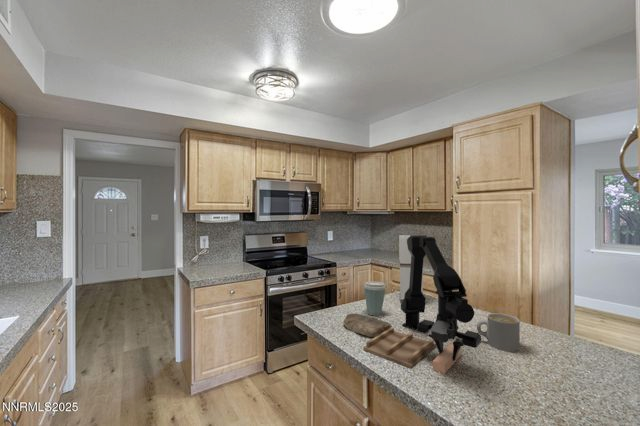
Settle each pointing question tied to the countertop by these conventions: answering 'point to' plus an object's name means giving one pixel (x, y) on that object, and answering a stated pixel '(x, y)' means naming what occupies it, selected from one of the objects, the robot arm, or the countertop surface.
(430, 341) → the rack rail
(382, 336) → the rack rail
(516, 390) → the countertop surface
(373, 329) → the brown rock
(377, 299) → the disposable coffee cup
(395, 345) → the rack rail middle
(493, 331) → the coffee mug
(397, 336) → the rack
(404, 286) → the white tall box
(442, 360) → the clay strip
